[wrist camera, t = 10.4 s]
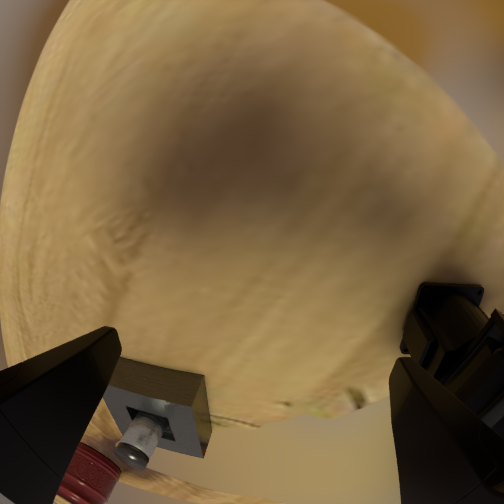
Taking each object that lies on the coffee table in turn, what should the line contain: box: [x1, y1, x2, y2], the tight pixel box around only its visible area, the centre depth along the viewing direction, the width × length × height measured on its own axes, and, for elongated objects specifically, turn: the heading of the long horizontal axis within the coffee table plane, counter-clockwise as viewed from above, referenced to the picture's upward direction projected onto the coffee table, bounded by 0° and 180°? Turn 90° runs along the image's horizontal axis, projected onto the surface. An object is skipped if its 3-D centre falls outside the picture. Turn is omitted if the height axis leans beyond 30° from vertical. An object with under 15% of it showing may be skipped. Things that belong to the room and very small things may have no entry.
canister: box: [54, 443, 121, 504], centre depth 34 cm, size 13×13×18 cm
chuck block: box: [103, 357, 212, 458], centre depth 26 cm, size 19×10×4 cm, turn 89°
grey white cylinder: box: [114, 410, 169, 470], centre depth 23 cm, size 3×3×8 cm
